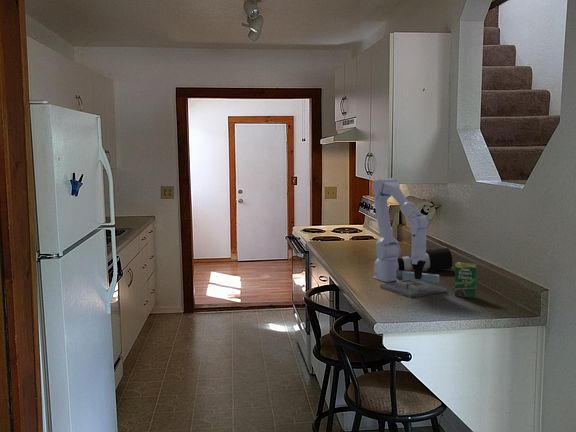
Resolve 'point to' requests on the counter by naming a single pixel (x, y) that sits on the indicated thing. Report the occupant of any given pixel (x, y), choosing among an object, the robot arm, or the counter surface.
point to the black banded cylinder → (428, 261)
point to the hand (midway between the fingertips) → (418, 278)
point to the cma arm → (411, 276)
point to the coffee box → (465, 280)
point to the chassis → (413, 288)
